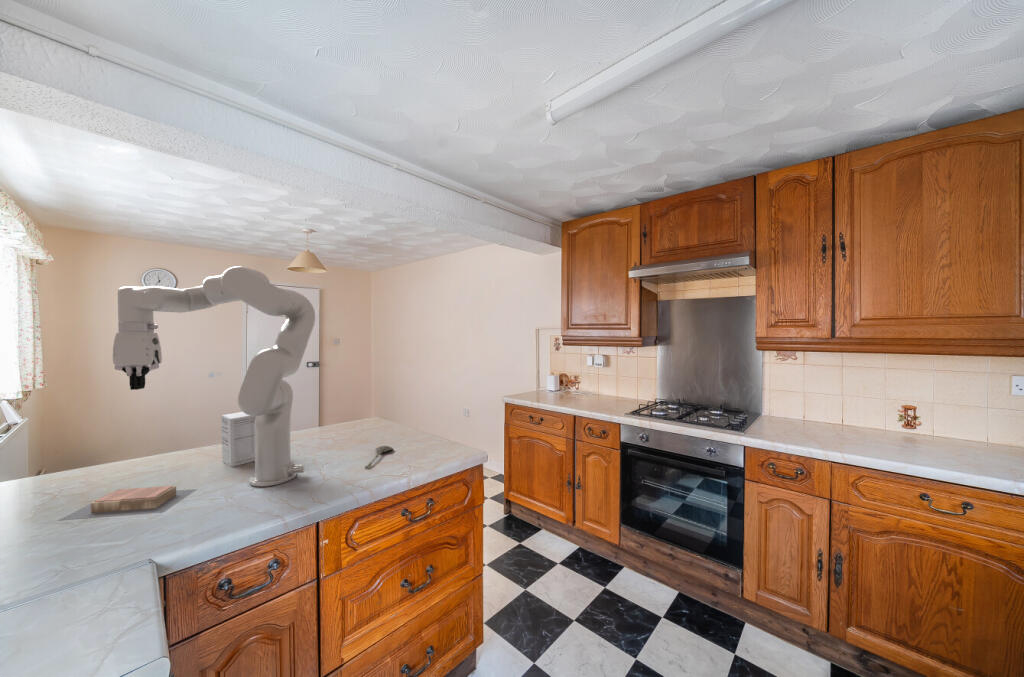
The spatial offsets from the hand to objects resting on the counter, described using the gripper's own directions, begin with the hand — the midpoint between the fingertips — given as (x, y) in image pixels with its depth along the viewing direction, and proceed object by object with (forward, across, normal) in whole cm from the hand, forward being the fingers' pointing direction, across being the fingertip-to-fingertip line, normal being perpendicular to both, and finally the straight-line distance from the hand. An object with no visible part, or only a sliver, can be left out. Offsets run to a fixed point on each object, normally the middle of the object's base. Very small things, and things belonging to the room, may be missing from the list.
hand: (137, 388), depth 113 cm
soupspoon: (+30, -67, -11) cm, 74 cm away
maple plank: (+27, -2, +16) cm, 31 cm away
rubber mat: (+29, -9, +16) cm, 34 cm away
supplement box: (+29, -20, -17) cm, 39 cm away
